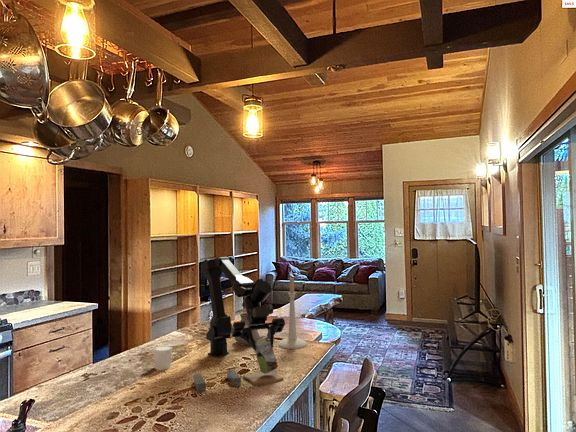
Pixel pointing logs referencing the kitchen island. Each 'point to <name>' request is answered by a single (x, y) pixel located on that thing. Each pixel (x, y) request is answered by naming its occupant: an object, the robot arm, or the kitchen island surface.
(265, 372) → the beverage can
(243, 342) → the coffee pot
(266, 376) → the walnut board
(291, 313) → the candlestick
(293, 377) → the kitchen island surface
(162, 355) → the shot glass
